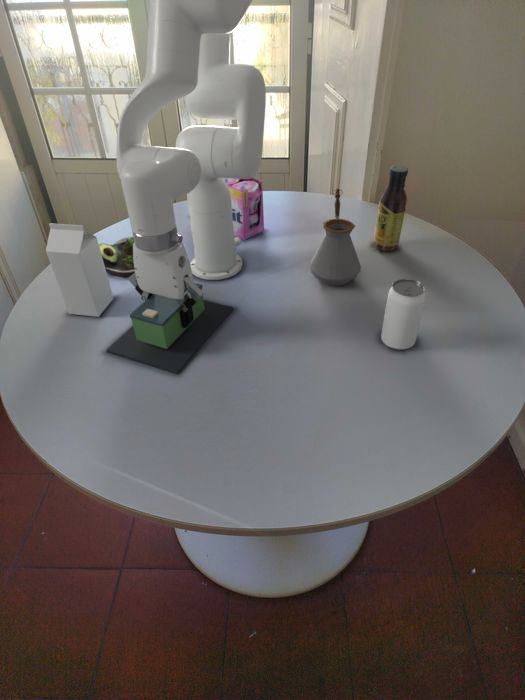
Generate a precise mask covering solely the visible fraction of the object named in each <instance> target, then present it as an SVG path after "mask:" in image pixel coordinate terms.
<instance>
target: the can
mask: <svg viewBox="0 0 525 700" xmlns="http://www.w3.org/2000/svg"><path fill="white" fill-rule="evenodd" d="M391 284H392V285H391V288H390V289H389V290H388V294H387V299H386V304H385V310H384V316H383V321H382V328H381V334H380V340H381V341H382V342H383V344H384V345H385V346H386V347H388V348H390V349H393V350H397V351H405V350H408V349H410V348H412V347H413V346H415V344H416V341H417V337H418V333H419V328H420V324H421V320H422V315H423V312H424V307H425V303H426V287H425V285H424V284H423V283H422V282H420V281H418V280H415V279H411V278H400V279H396V280H395V281H393V283H391Z"/></svg>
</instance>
